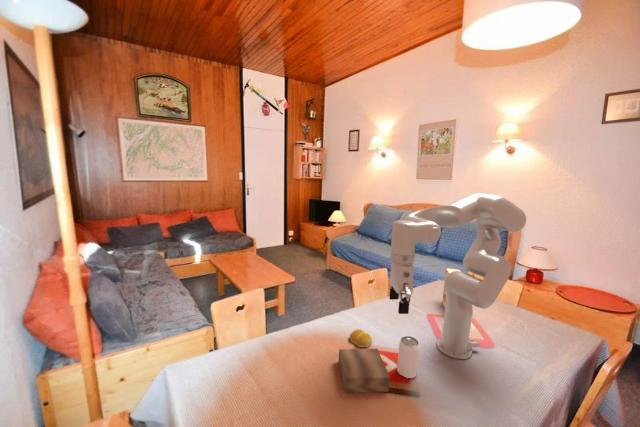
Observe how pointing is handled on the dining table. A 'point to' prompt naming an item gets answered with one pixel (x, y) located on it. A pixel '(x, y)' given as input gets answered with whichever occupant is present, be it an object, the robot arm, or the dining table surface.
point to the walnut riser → (363, 371)
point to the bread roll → (360, 338)
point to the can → (408, 357)
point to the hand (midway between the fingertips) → (398, 305)
